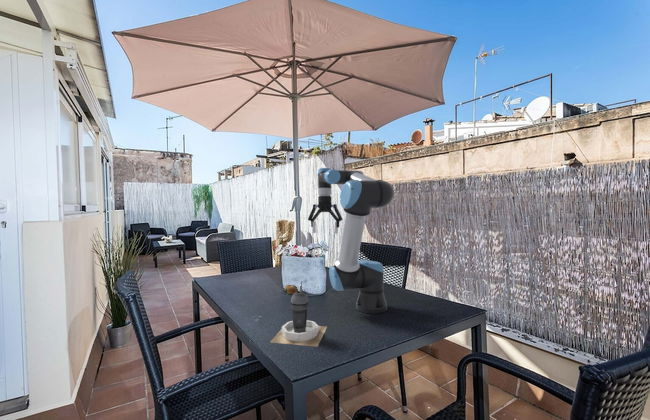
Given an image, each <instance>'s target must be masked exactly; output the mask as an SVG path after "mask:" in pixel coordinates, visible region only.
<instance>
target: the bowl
mask: <svg viewBox="0 0 650 420" xmlns="http://www.w3.org/2000/svg"><path fill="white" fill-rule="evenodd" d="M319 326H320V325H319V324H317V322H316V321H313V320H308V319H307V321H306V332H303V333H295V332H294V328H293V320H290V321H287V322H286V323H284V324H283V325H282V326H281V329H282V333H283V337H284V338H285V339H286V340H289V341H293V342H304V341H309V340H312V339H314V338H315V337H316V336H317V335H318V332H319Z"/></svg>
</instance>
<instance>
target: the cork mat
mask: <svg viewBox="0 0 650 420" xmlns="http://www.w3.org/2000/svg"><path fill="white" fill-rule="evenodd" d="M318 326H319V332H318V335H317V336H316V337H315V338H314V339H312V340H309V341H304V342H293V341H289V340H286V339H285V338H284V337H283V333H282V328H281V329H280V330H279V331H278V332H277V334H276V335H275V336H274V337H273V338H272V339H271V340H270V342H269V343H273V344H281V345H282V344H283V345H284V344H285V345H294V346H306V347H316V348H317V347H319V344H320V342H321V340H322V338H323V336H324V334H325V333H326V331H327V328H328V326H323V325H318Z"/></svg>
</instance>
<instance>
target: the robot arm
mask: <svg viewBox="0 0 650 420" xmlns="http://www.w3.org/2000/svg"><path fill="white" fill-rule="evenodd" d="M317 171H318V173H317V195H318V196H317V197H318V199H317V201H318V203H317V204H316V203H314V204H312V209H311V211H310V213H309V215H308V218H307V220H308V221H310V224H311V225H310V226H311V228H312V234H315V233H317V231H316V229H317V225H316V222H317V221H315V220H316V219H317V218H318V217H319V215H320V214H321V213H329V215H331V217H332V218H333V219H334V220H335V222H334V234H335V235H336V234H338V232H339V228H340V223H341V222H342V221H343V219H344V225H343V229H342V238H341V243H340V249H339V257H338V258H337V259H336V260H335V262H334V265H331V266H330V267H329V270H328V276H329V280H330V281H329V282H330V284H331V287H332V288H333V290H334V291H337V292H339V291H340V292H341V291H343V292H344V291H351V290H359V293H358V295H357V300H356V303H355V310H357V311H359V312H361V313H365V314H370V315H371V314H376V315H377V314H382V313H385V312H386V311H388V302H387V300H386V297H385V293H384V273H385V272H384V266H383V265H384V264H383V263H382V262H379V261H374V260H368V259H361V260H359V256H360V249H361V244H362V241H363V240H362V238H363V234H364V233H363V232H364V228H365V223H366V220H367V219H366V218H367V217H369V216H370V215H371V211H372V209H379V208H384V207H386V206H388V205H389V204H390V203H391V202H392V201H393V198H394V196H395V195H394V194H395V191H394V190H395V189H394V188H393V185H392V184H391V183H389V182H388V181H386V180H384V179H378V180H377V179H375V178H372V177H370V176H367V175H365V174H364V173H363V171H362V170H356V169H355V170H344V169H343V170H339V169H331V168H330V167H329V168H328V167H320V168H318V170H317ZM332 185H342V187H341V189H340V195H339V198H340V200H339V202H340V205H341V208H343V211H344V213H345V218H343V217H342V215H341V213H340V211H339V208H338V205H337V204H336V203H333V204H332ZM332 208H333V210H334V211H335V212H334V211H333V210H332ZM315 212H316V213H315ZM358 261H359V262H358Z"/></svg>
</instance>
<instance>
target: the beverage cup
mask: <svg viewBox="0 0 650 420" xmlns="http://www.w3.org/2000/svg"><path fill="white" fill-rule="evenodd" d="M300 284H301V286H300V292H296V293H294V294H292V295H291V298H290V302H289V303H290V308H291V316H292V321H293V328H294V332H295V333H303V332H306V321H307V320H308V318H307V317H308V307H309V303H310V302H309V298H308V295H307V294H306V293H305V292H303V289H302V288H303V281H302V280H300ZM301 291H302V292H301Z"/></svg>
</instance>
